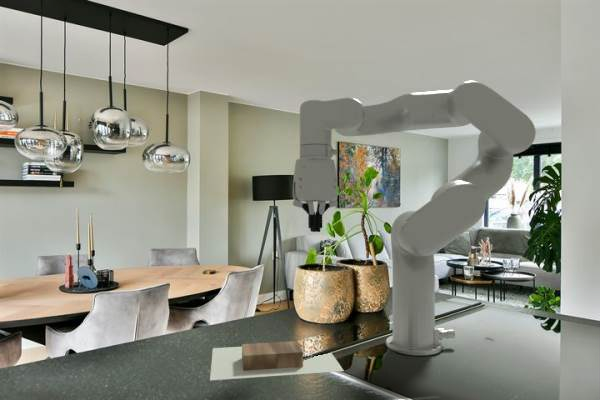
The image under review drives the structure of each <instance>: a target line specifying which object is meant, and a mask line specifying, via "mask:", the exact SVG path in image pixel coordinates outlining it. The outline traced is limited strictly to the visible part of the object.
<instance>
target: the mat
mask: <svg viewBox="0 0 600 400" xmlns="http://www.w3.org/2000/svg"><path fill="white" fill-rule="evenodd" d="M211 353H212V355H211V364H210V376H209V377H210V378H209V381H210V382H211V381H224V380H225V381H226V380H236V379H237V380H238V379H239V380H241V379H250V378H251V379H253V378H265V377H266V378H267V377H269V378H270V377H280V376H281V377H283V376H295V375H311V374H323V373H324V374H325V373H339V372H344V371H345V370H344V369H343V368H342V366H341V365H340V363H339V361H338V360H337V358H336V357H335V356H334V354H333V353H332V352H331V353H328V354H323V355H318V356H314V357H313V358H310V359H307V360H304V361H303V367H294V368H279V369H264V370H249V371H243V362H242V346H232V347H231V346H229V347H227V346H226V347H213V348H212V352H211Z"/></svg>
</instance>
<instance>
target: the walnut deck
mask: <svg viewBox="0 0 600 400" xmlns="http://www.w3.org/2000/svg"><path fill="white" fill-rule="evenodd" d="M299 343H300V342H299V341H297V340H296V341H295V340H294V341H293V340H292V341H278V342H274V341H272V342H258V343H256V342H255V343H241V347H242V362H243V371H249V370H264V369H279V368H294V367H303V351H302V349H301V347H300V345H299Z"/></svg>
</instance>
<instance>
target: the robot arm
mask: <svg viewBox="0 0 600 400" xmlns="http://www.w3.org/2000/svg"><path fill="white" fill-rule="evenodd" d="M470 124H471V125H472V126H473V127H475V128H476V129H477V130H479V132H480V133H479V135H478V138H477V139H478V140H477V147H478V150H477V151H478V152H477V157H476V159H475V160H474V162H473V163H472V164H471V165H469V166H468V167H467V168H465V170H463V171H462V172H461V173H459V174H458V175H457V176H455V177H453V178H452V179H451V180H450V181H448V182H446V183H445V184H442V185H441V186H440V187H439V188H437V189H436V190H435V191H434V193H433V194H432V196H431V198H430V200H429V201H428V202H427V203H426V204H424V205H423V206H421V207H420V208H418V209H417V210H407V211H405V212H402V213H401V214H399V215H398V216H397V217H396V218H394V221H393V223H392V225H391V231H390V242H391V244H390V245H391V261H392V335H389V336H388V337H387V338H386V340H385V345H386V347H387V348H388V349H390V350H392V351H393V352H396V353H398V354H403V355H407V356H419V357H420V356H421V357H422V356H432V355H436V354H438V353H440V352H441V351H442V350H443V343H442V342H441V341H443V339H447V340H449V339H455V337H456V333H455V330H454V329H444V327H443V328H442V327H441V328H438V327H436V326H435V325H436V323H435V321H436V319H435V318H436V307H435V306H436V303H435V302H436V298H435V297H436V294H435V292H436V290H435V288H436V285H435V282H436V277H435V275H436V274H435V273H436V272H435V271H436V268H435V266H436V265H435V255H434V254H436V253H437V252H439V251H441V250H442V249H444V248H445V247H446V246H447V245H449V244H450V243H452V242H453V241H455V240H456V239H457V238H459V237H460V236H462V235H463V234H464V233H465V232H467V231H468V230H470V229H471V228H473V226H475V225H476V224H477V223H478V222H479V221H480V220H481V219H482V217H483V216H484V214H485V211H486V209H487V201H488V200H490V199H491V198H492V197H493V196H495V195H496V194H497V193H498V192H499V191H500V190H502V189H503V188H504V187H505V185H507V184H508V182H509V179H510V177H511V175H512V172H513V167H514V166H513V165H514V155H517V154H520V153H522V152H525V151H526V150H528V149H529V147H531V146H533V145H532V144H533V143H534V141H535V138H536V131H537V130H536V127H535V125H534V122H533V121H532V120H531V118H530V117H529V116H528V115H527V114H526V113H525V112H523V111H522V110H521V109H520V108H518V107H517V106H515V105H514V104H512V103H511V102H510V101H509V100H507V99H506V98H504V97H503V96H502V95H501V94H499V93H498V92H496V91H495V90H494V89H492V88H491V87H489V86H488V85H486V84H484V83H482V82H480V81H475V80H468V81H467V80H466V81H465V82H463V83H460V84H459V85H458V86H456V87H455V88H454V89H449V90H448V89H447V90H435V91H434V90H433V91H424V92H423V91H422V92H409V93H405V94H402V95H400V96H397V97H396V98H395V97H394V98H392V99H391V100H388V101H386V102H382V103H379V104H373V105H364V104H363V103H362V102H361V101H360V100H359V99H356V98H354V97H342V98H335V99H329V100H322V99H309V100H305V101H304V102H302V103H301V105H300V107H299V158H298V159H296V160H295V164H294V172H293V184H292V198H293V201H292V206H293V207H297V208H300V209H301V208H302V210H303V211H305V213H306V214H307V215H308V216H307V217H308V221H307V224H308V226H307V227H308V229H309V230H310V232H311V233H317V232H318V233H320V232H321V229H323V215H324V214H325V212H326V211H327V210H328V209H330V208H334V207H338V193H339V191H338V176H337V175H338V174H337V169H336V164H335V163H336V162H335V160H334V159H332V158H333V156H338V149H334V148H333V145H332V141H333V140H332V132H333V130H334V131H335V132H336V133H337V134H338V135H340V136H342V137H343V136H344V137H362V136H363V137H364V136H374V135H383V134H390V133H402V132H406V131H417V130H431V129H443V128H457V127H465V126H468V125H470ZM314 202H317V205H316V211H315V206H314Z"/></svg>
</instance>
